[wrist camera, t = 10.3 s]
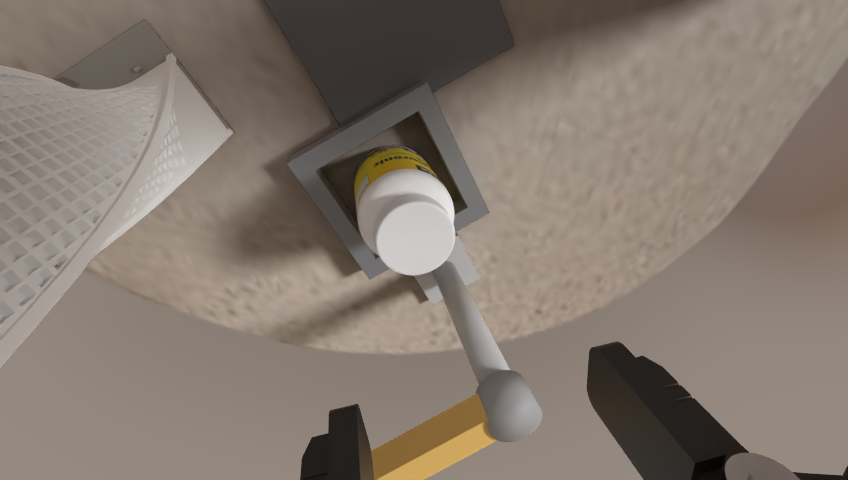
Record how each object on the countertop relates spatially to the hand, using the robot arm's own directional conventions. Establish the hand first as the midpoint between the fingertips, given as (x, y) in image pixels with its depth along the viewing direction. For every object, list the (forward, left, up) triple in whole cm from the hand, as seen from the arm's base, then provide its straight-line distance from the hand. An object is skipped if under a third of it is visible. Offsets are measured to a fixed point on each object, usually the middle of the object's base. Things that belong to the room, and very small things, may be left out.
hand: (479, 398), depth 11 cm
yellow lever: (+4, +8, -7) cm, 11 cm away
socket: (0, +3, -20) cm, 20 cm away
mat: (-5, -10, -20) cm, 23 cm away
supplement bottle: (0, 0, -20) cm, 20 cm away
